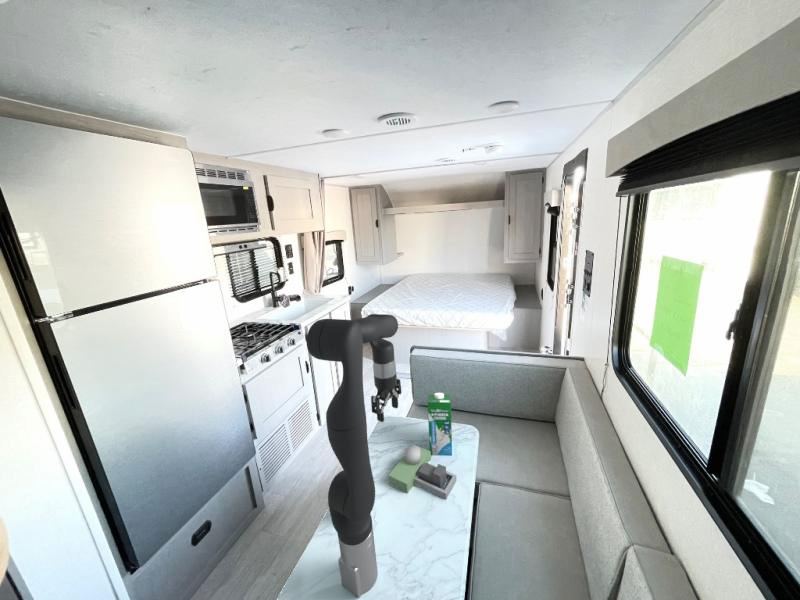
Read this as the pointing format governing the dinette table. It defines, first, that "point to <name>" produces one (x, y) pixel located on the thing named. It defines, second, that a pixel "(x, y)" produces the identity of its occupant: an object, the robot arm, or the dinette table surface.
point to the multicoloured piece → (408, 472)
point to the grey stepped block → (433, 474)
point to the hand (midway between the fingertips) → (388, 413)
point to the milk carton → (440, 424)
